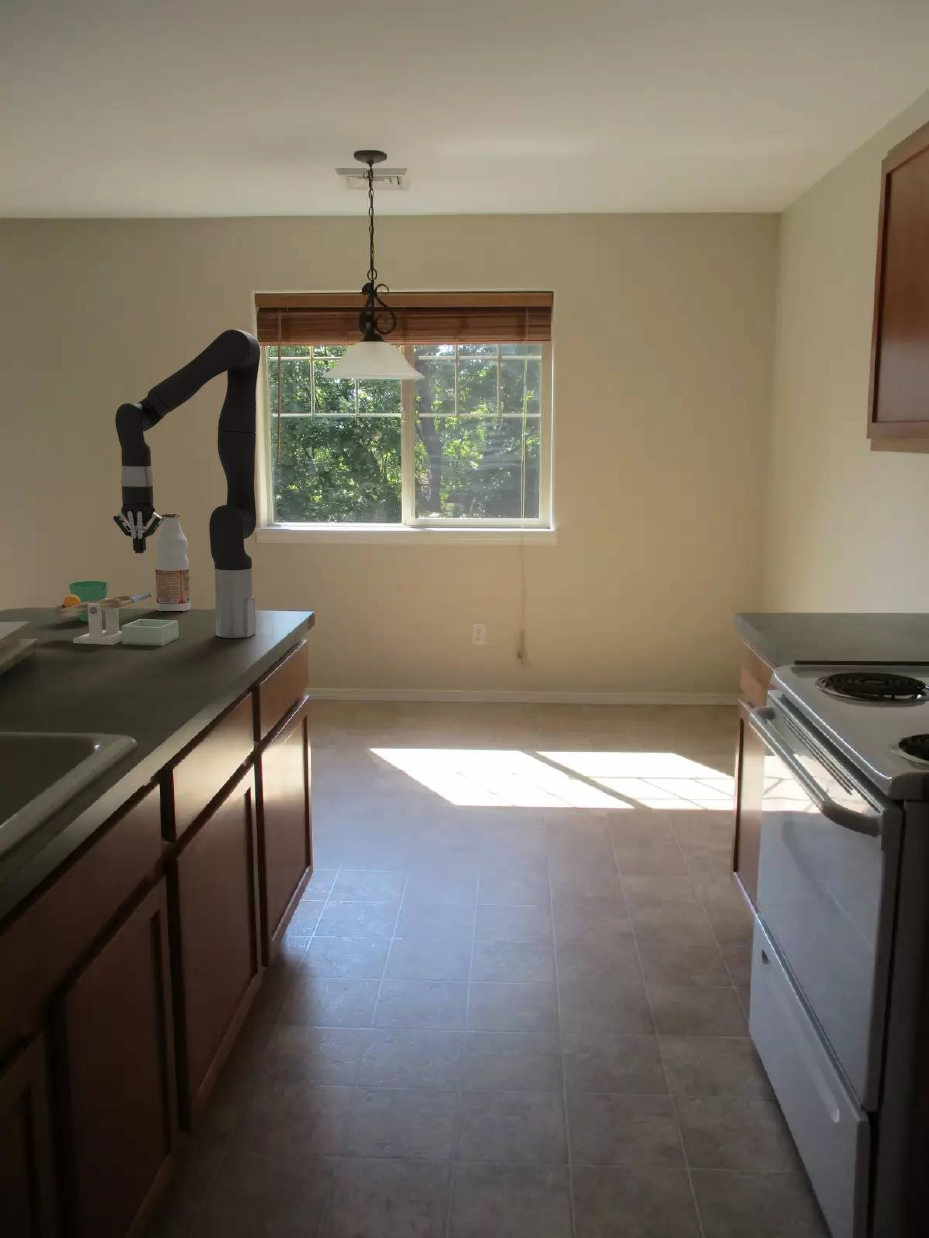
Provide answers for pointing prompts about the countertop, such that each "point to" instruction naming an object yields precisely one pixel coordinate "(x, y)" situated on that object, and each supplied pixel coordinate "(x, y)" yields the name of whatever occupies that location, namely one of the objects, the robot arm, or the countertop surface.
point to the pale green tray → (150, 632)
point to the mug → (88, 592)
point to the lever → (105, 603)
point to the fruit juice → (172, 566)
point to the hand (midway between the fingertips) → (139, 553)
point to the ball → (71, 601)
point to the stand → (95, 627)
